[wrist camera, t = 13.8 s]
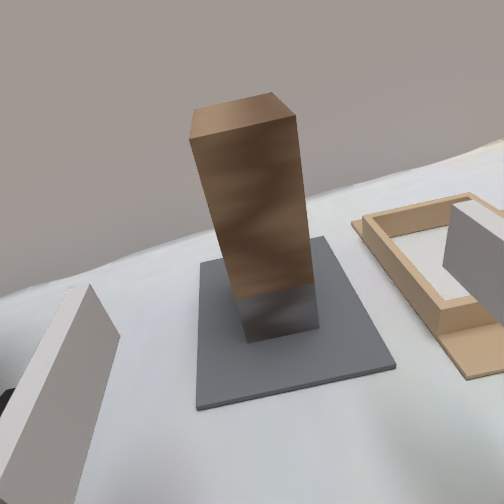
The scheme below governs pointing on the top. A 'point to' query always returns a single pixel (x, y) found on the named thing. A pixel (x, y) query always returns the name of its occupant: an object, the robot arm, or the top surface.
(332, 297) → the mat
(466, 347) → the carton
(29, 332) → the top surface
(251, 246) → the walnut box
